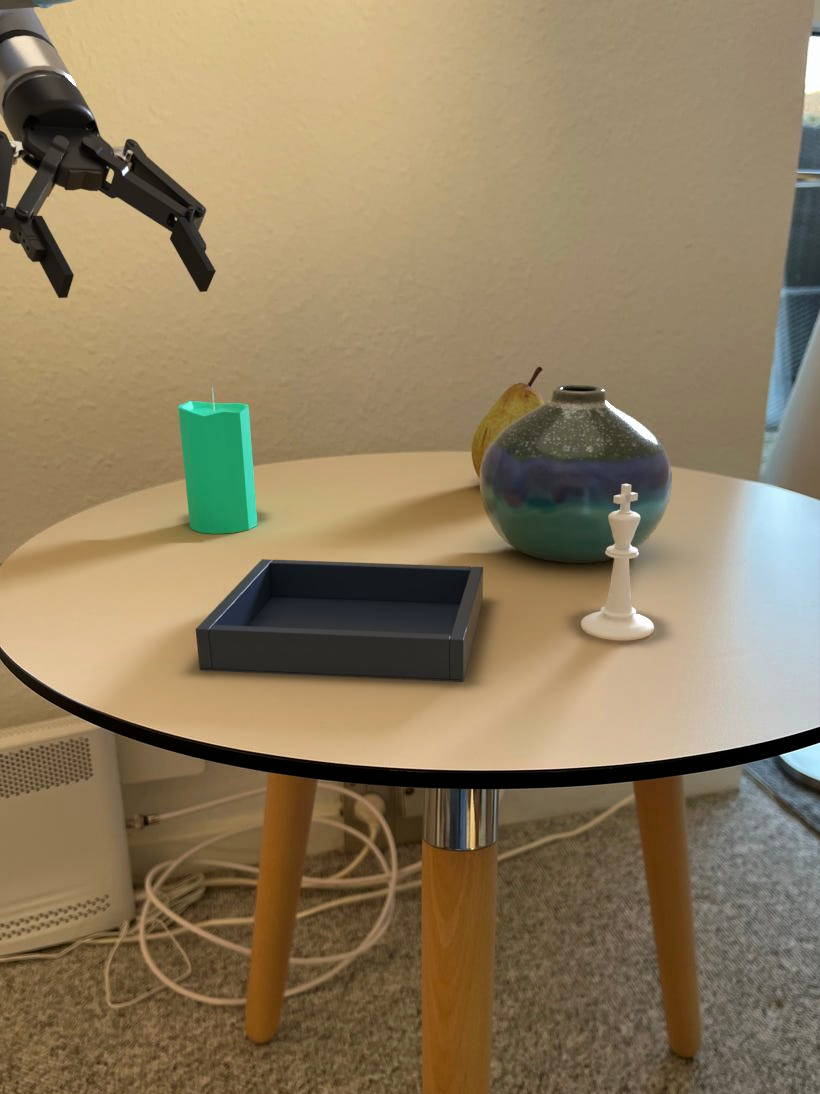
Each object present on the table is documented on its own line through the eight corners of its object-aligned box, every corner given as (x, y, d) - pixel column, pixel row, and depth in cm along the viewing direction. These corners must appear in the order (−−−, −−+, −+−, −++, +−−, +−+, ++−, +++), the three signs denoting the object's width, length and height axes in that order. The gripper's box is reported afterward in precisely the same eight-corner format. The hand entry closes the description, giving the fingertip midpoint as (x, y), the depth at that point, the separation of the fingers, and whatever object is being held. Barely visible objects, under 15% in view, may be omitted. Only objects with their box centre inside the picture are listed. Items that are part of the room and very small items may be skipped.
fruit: (463, 493, 102) (463, 371, 98) (482, 474, 111) (484, 360, 106) (548, 499, 101) (552, 375, 96) (561, 479, 109) (566, 363, 104)
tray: (199, 677, 60) (194, 628, 59) (264, 600, 72) (261, 558, 71) (463, 689, 59) (463, 639, 57) (482, 608, 71) (483, 566, 70)
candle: (174, 527, 90) (160, 388, 85) (224, 512, 95) (212, 380, 90) (224, 537, 87) (211, 395, 82) (272, 522, 92) (263, 386, 87)
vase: (705, 563, 81) (722, 394, 76) (547, 594, 74) (554, 410, 69) (590, 519, 94) (598, 371, 89) (444, 542, 86) (444, 382, 81)
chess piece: (563, 630, 67) (570, 482, 64) (617, 615, 70) (626, 472, 66) (616, 653, 64) (626, 498, 60) (670, 636, 67) (683, 487, 63)
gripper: (153, 146, 105) (246, 306, 101) (-107, 130, 89) (-9, 321, 85) (174, 84, 100) (272, 251, 96) (-99, 55, 84) (5, 254, 80)
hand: (140, 284), depth 90 cm, fingers open, 13 cm apart
